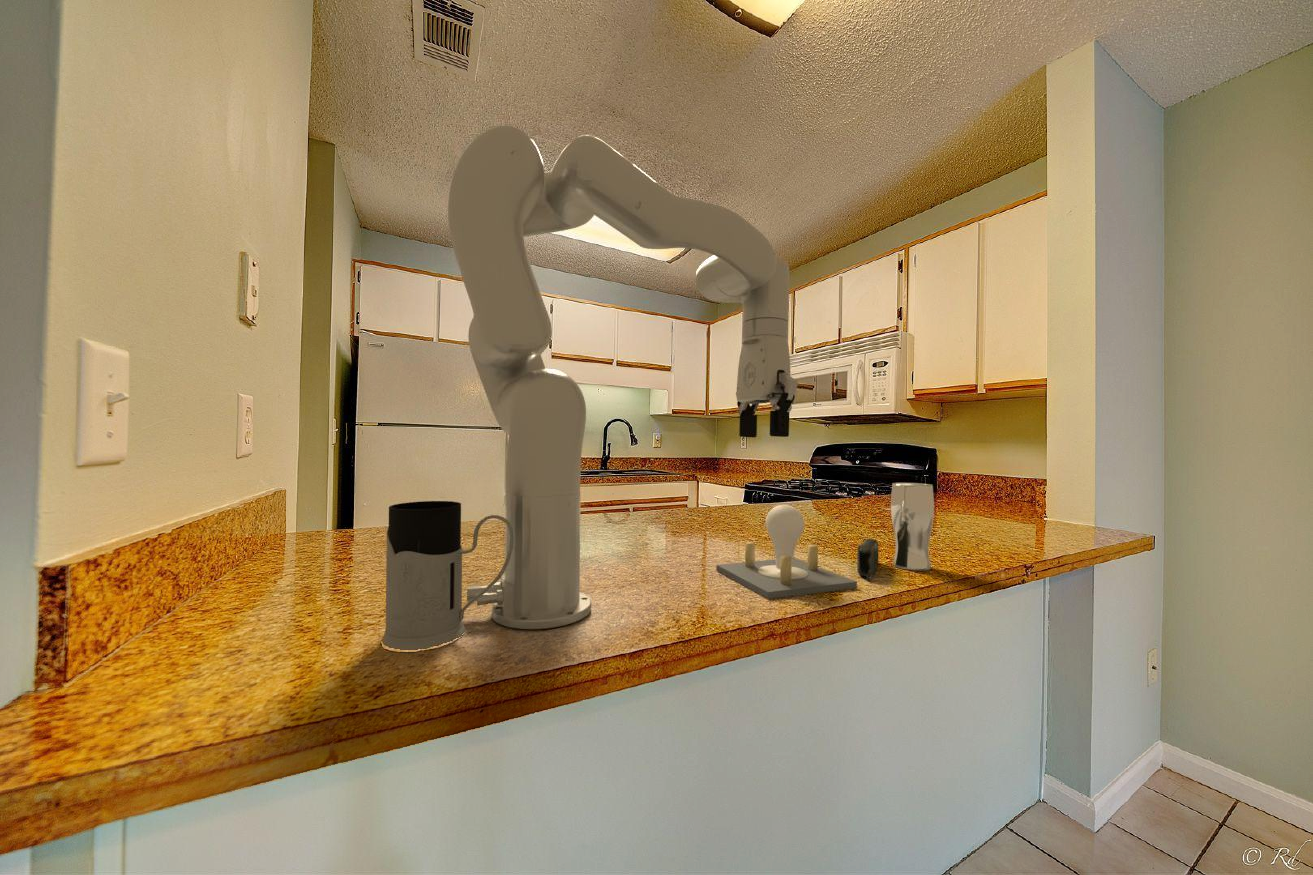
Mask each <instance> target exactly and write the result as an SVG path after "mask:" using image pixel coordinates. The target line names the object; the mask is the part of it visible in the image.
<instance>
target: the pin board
mask: <svg viewBox="0 0 1313 875" xmlns="http://www.w3.org/2000/svg"><path fill="white" fill-rule="evenodd" d="M744 543H745V546H744V547H745V554H744V556H745V557H744V558H745V560H744V561H743V562H732V563H722V564H716V565H715V566H716V571H717V572H719V573H720V574H722V575H723V576H726V577H727V578H729V579H731V580H733V581H735V582H736V583H738V584H740V585H742V586H744V587H745V588H747V589H749V590H750V591H752V592H753V593H754V592H755V593H756V594H758V595H760V596H761V597H764V598H765V599H767V600H770V599H771V600H772V599H779V598H781V599H782V598H787V597H795V596H804V595H811V594H820V593H828V592H837V591H844V590H851V589H852V590H853V589H854V590H855V589H857V588H858V581H856V580H854V579H851V578H848V577H846V576H843V575H840V574H837V573H834V572H833V571H830V570H827V569H826V568H825V569H824V568H822V567H820V566H819V565H818V564H819V561H818V560H819V559H818V558H819V549H818V548H819V546H818V545H816V544H808V545H807V562H806V561H803V560H801V559H798V558H795V557H793V558H792V568H791V557H790V556H781V571H780V570H779V569H777V568H776V558H775V559H767V560H756V555H755V554H756V553H755V552H756V543H755V542H752V541H751V542H750V541H747V542H744Z"/></svg>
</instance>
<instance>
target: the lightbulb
mask: <svg viewBox="0 0 1313 875" xmlns="http://www.w3.org/2000/svg"><path fill="white" fill-rule="evenodd" d="M765 527H766V531H767V533H768V535H769V537H770V539H771V542H772V545H773V554H774V556H775V559H776V568H777V569H779V570H780V571H781V556H790V557H791V568H792V558H794V556H795V550H796V546H797V543H798V541H799V539H800V538H801V536H802V534H803V532H804V529H805V519H804V517H803V515H802V513H801V512H800V511H799V510H798V509H797V508H796V507H794V506H792V505H789V504H779V505H776V506H774V507H773V508H772V509H770V511H769V512H768V513H767V515H766V518H765Z"/></svg>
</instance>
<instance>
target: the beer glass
mask: <svg viewBox="0 0 1313 875" xmlns="http://www.w3.org/2000/svg"><path fill="white" fill-rule="evenodd" d="M891 484H892V485H891V493H890V495H891V496H890V516H891V522H892V529H893V533H894V540H895V551H894V556H893V563H892V564H893V566H894V567H896V568H898V569H902V570H907V571H913V572H915V571H916V572H928V571H931V569H932V564H931V559H930V553H929V552H930V551H929V550H930V549H929V546H930V539H931V533H932V529H933V526H934V525H933V524H934V518H935V500H934V486H933V485H934V484H930V483H921V482H920V483H919V482H893V483H891Z"/></svg>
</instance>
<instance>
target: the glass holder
mask: <svg viewBox="0 0 1313 875" xmlns="http://www.w3.org/2000/svg"><path fill="white" fill-rule="evenodd" d="M491 519H497V520H500V521H502V522H503V523H506V524H507V526H508V528H509V532H510V544H509V551H508V555H507V558H506V561H505V560H504V563H503V565H502V567H501V569H500V570H499V573H498V574H497V576H496V577H494V579H493V580H492V581H491V582H490V583H489V584H488V585H486V586H487V587H486V588H485V589H484V590H483V591H481V592H480V593H479V594H478V595H476V596H475V597H474V598H473V599H471V600H470V601H469V602H467V603H465V605H464V606H463V555H467V554H470V553H472V552H473V551H474V550H476V547H477V545H478V537H479V536H478V535H479V531H480V529H481V526H482V525H483V524H484V523H485V522H486V521H488V520H491ZM461 537H462V503H461V502H458V501H452V500H450V501H449V500H425V501H422V500H421V501H410V502H401V503H396V504H395V503H394V504H392V505H390V506H388V527H387V530H386V563H385V565H386V567H385V568H386V569H385V570H386V572H385V573H386V574H385V629H384V634H383V636H382V638H381V640H382V642H383V644H384V645H385V646H388V647H389V648H394V649H400V650H418V649H427V648H430V647H433V646H439V645H441V644H443V643H447V642H450V641H453V640H454V639H456V638H459V637H461V636H462V634H463V633H464V632H465V629H466V627H465V624H464V623H463V620H464V617H465V615H464V614H465V611H466V610H467V609H468V607H470V606H471V605H472V604H473V603H475V602H477V601H476V600H477V599H478V598H479V597H481V596H482V595H483V594H484V593H485V592H486V591H487V590H489V589H490V588H491V587H492V586H493V585H494V584H495V583H496V582H499V580H500V579H501V576H502V575H504V574H505V569H506V567H507V565H508V563H509V561H510V558H511V554H512V550H513V539H514V535H513V528H512V526H511V524H510V522H509V521H508V520H506V517H504V516H502V515H501V516H500V515H497V514H491V515H488V516H487V515H486V516H484V518H482V519H481V520H479V521H478V523H477V524H476V526H475V528H474V532H473V536H472V537H473V538H472V540H473V542H472V547H471V548H470V549H463V546H462V544H461V543H462V538H461ZM465 633H466V632H465Z"/></svg>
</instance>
